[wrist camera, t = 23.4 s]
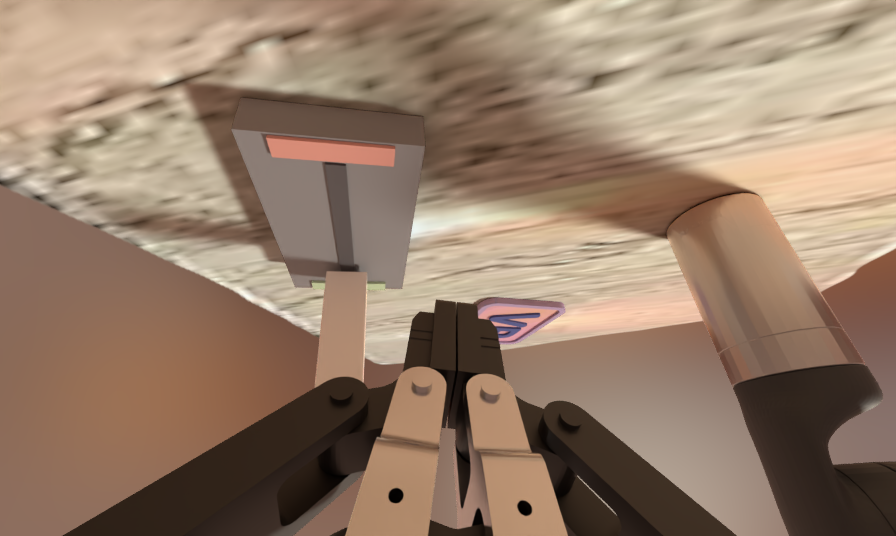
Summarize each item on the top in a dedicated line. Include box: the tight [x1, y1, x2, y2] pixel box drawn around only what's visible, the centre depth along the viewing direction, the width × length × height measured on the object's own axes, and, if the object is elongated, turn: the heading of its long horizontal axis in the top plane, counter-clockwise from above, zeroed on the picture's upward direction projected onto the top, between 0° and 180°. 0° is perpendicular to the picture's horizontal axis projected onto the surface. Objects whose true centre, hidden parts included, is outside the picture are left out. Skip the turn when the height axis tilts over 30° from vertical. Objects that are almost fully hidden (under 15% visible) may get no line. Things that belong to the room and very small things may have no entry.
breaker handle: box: [315, 271, 367, 388], centre depth 35 cm, size 5×4×13 cm
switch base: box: [231, 98, 425, 290], centre depth 34 cm, size 12×22×3 cm, turn 170°
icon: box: [477, 297, 565, 344], centre depth 64 cm, size 19×2×20 cm
